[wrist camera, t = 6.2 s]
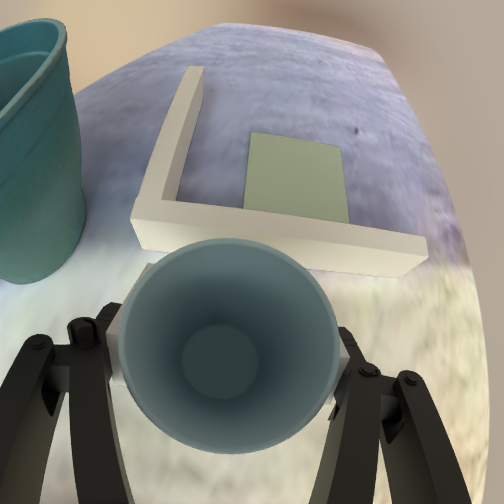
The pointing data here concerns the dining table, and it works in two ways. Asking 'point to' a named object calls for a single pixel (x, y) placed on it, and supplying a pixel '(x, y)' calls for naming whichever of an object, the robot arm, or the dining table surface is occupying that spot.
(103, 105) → the dining table surface
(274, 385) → the cup
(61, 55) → the flower pot
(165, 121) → the corner arena
